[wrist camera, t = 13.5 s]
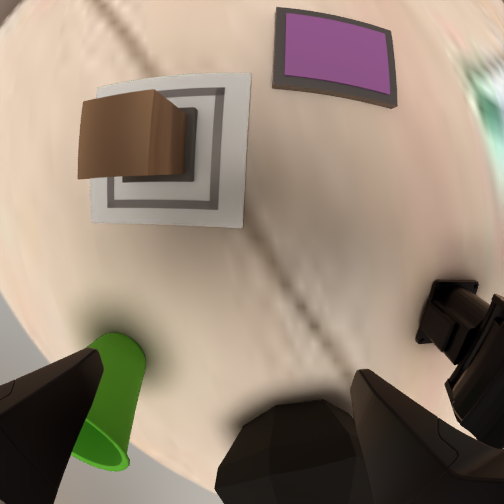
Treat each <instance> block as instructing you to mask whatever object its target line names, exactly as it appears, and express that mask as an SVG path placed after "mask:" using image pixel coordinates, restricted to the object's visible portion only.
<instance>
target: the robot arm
mask: <svg viewBox="0 0 504 504" xmlns="http://www.w3.org/2000/svg"><path fill="white" fill-rule="evenodd" d="M438 285H439V286H438ZM478 285H479V284H478V282H477V281H476V280H436V281H435V282H434V284H433V287H432V290H431V294H430V297H429V301H428V304H427V307H426V311H425V314H424V317H423V320H422V323H421V326H420V329H419V331H418V334H417V337H416V342H417V343H418V344H426V343H434V344H435V346H436V347H437V348H438V349H439V350H440V351H441V352H443V353H444V354H445V355H446V356H447V357H448V358H449V360H450V361H451V362H452V363H453V364H454V365H457V364H458V366H457V367H456V369H455V370H454V372H453V374H452V375H451V377H450V378H449V379H447V381H446V382H445V387H446V390H447V393H448V396H449V399H450V402H451V405H452V408H453V411H454V414H455V417H456V419H457V421H458V422H459V423H460V425H461V426H462V427H464V428H465V429H467V430H468V431H469V432H471V433H472V434H473V435H474V436H475V437H476V439H477V440H476V439H474V438H472V437H470V436H468V435H466V434H464V433H462V432H461V431H459V430H457V429H455V428H454V427H452V426H451V425H449V424H447V423H446V422H444V421H443V420H441V419H440V418H438V417H437V416H435V415H434V414H432V413H431V412H430V411H428V410H427V409H425V408H424V407H422V406H421V405H419V404H418V403H416V402H415V401H414V400H412V399H411V398H409V397H408V396H406V395H405V394H404V393H402V392H401V391H399V390H398V389H396V388H395V387H394V386H392V385H391V384H389V383H388V382H387V381H385V380H384V379H382V378H381V377H380V376H378V375H377V374H375V373H374V372H373V371H371V370H370V369H359V370H357V372H356V374H355V376H354V379H353V382H352V385H351V388H350V393H351V399H352V406H353V412H354V419H355V425H356V430H357V434H358V437H359V441H360V445H361V449H362V452H363V456H364V460H365V464H366V468H367V472H368V476H369V480H370V484H371V489H372V493H373V497H374V502H375V504H504V449H503V448H504V297H502V296H500V295H497V294H494V295H493V297H492V302H491V304H490V305H489V304H488V303H487V302H485V301H484V300H482V299H481V298H480V297H478V296H477V295H476V292H477V289H478ZM437 286H438V287H437ZM103 372H104V366H103V363H102V359H101V356H100V353H99V351H98V350H97V349H95V348H90V347H87V348H85V349H83V350H80V351H78V352H76V353H74V354H72V355H69V356H67V357H65V358H63V359H60V360H58V361H56V362H54V363H52V364H49V365H47V366H45V367H42V368H40V369H38V370H36V371H34V372H32V373H29V374H27V375H24V376H22V377H20V378H17V379H16V380H13V381H10V382H8V383H6V384H3V385H1V386H0V504H54V501H55V498H56V495H57V491H58V488H59V485H60V482H61V480H62V477H63V474H64V471H65V469H66V466H67V463H68V461H69V458H70V456H71V453H72V451H73V448H74V446H75V443H76V441H77V439H78V436H79V434H80V431H81V429H82V427H83V425H84V422H85V420H86V418H87V416H88V413H89V411H90V409H91V407H92V404H93V401H94V399H95V396H96V393H97V390H98V387H99V384H100V381H101V378H102V375H103Z"/></svg>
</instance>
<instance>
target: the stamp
mask: <svg viewBox="0 0 504 504" xmlns="http://www.w3.org/2000/svg"><path fill="white" fill-rule="evenodd" d="M197 116H198V110H197V109H196V108H195V107H187V108H178V107H177V106H175V105H174V104H173V103H172V102H170V101H169V100H168V99H167V98H165V97H164V96H163V95H161V94H160V93H159V92H158V91H156V90H155V89H150V90H143V91H135V92H129V93H123V94H117V95H112V96H107V97H102V98H97V99H92V100H88V101H84V102H83V107H82V115H81V124H80V136H79V151H78V179H89V178H103V177H121V176H122V183H129V182H193V181H194V166H195V146H196V130H197Z"/></svg>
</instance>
